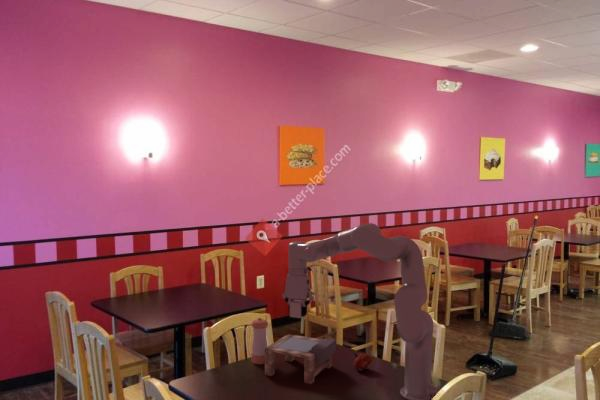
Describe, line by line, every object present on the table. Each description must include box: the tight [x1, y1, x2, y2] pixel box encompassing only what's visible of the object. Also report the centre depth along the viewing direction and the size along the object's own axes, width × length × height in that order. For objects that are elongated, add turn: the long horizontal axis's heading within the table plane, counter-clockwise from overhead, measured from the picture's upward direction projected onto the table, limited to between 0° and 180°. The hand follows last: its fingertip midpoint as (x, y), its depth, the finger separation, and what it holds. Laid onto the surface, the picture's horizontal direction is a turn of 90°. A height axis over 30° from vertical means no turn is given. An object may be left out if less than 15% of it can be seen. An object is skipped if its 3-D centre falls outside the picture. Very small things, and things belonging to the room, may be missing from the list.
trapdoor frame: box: [264, 333, 333, 385], centre depth 221 cm, size 21×21×11 cm
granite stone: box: [289, 299, 307, 319], centre depth 222 cm, size 5×5×6 cm
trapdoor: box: [276, 337, 337, 362], centre depth 219 cm, size 21×14×5 cm
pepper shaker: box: [250, 317, 269, 365], centre depth 231 cm, size 7×7×19 cm
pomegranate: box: [353, 352, 373, 372], centre depth 222 cm, size 7×7×10 cm
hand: (297, 314), depth 222 cm, fingers closed on granite stone, 5 cm apart
